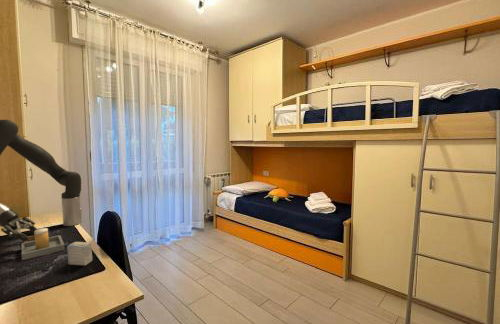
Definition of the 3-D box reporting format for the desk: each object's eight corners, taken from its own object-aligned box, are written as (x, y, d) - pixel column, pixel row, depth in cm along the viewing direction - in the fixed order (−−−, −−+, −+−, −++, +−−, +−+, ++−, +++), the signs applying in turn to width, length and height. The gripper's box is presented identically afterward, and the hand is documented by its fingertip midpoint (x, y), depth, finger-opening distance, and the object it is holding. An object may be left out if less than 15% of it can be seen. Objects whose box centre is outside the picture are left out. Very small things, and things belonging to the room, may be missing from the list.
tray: (60, 240, 128) (60, 235, 128) (64, 249, 117) (64, 244, 117) (21, 248, 117) (21, 243, 117) (22, 260, 107) (21, 254, 106)
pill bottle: (48, 244, 121) (47, 227, 120) (49, 247, 117) (48, 230, 116) (35, 247, 117) (33, 229, 116) (36, 251, 114) (34, 232, 113)
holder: (46, 236, 132) (46, 232, 132) (48, 241, 126) (47, 237, 126) (24, 241, 126) (23, 237, 126) (24, 246, 119) (24, 243, 119)
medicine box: (92, 260, 107) (91, 242, 106) (84, 266, 103) (83, 246, 102) (76, 259, 108) (75, 241, 107) (68, 264, 104) (66, 245, 103)
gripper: (-4, 213, 105) (29, 236, 109) (18, 204, 119) (47, 225, 123) (-18, 225, 104) (16, 248, 108) (6, 215, 118) (35, 236, 122)
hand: (32, 236), depth 116 cm, fingers open, 8 cm apart
